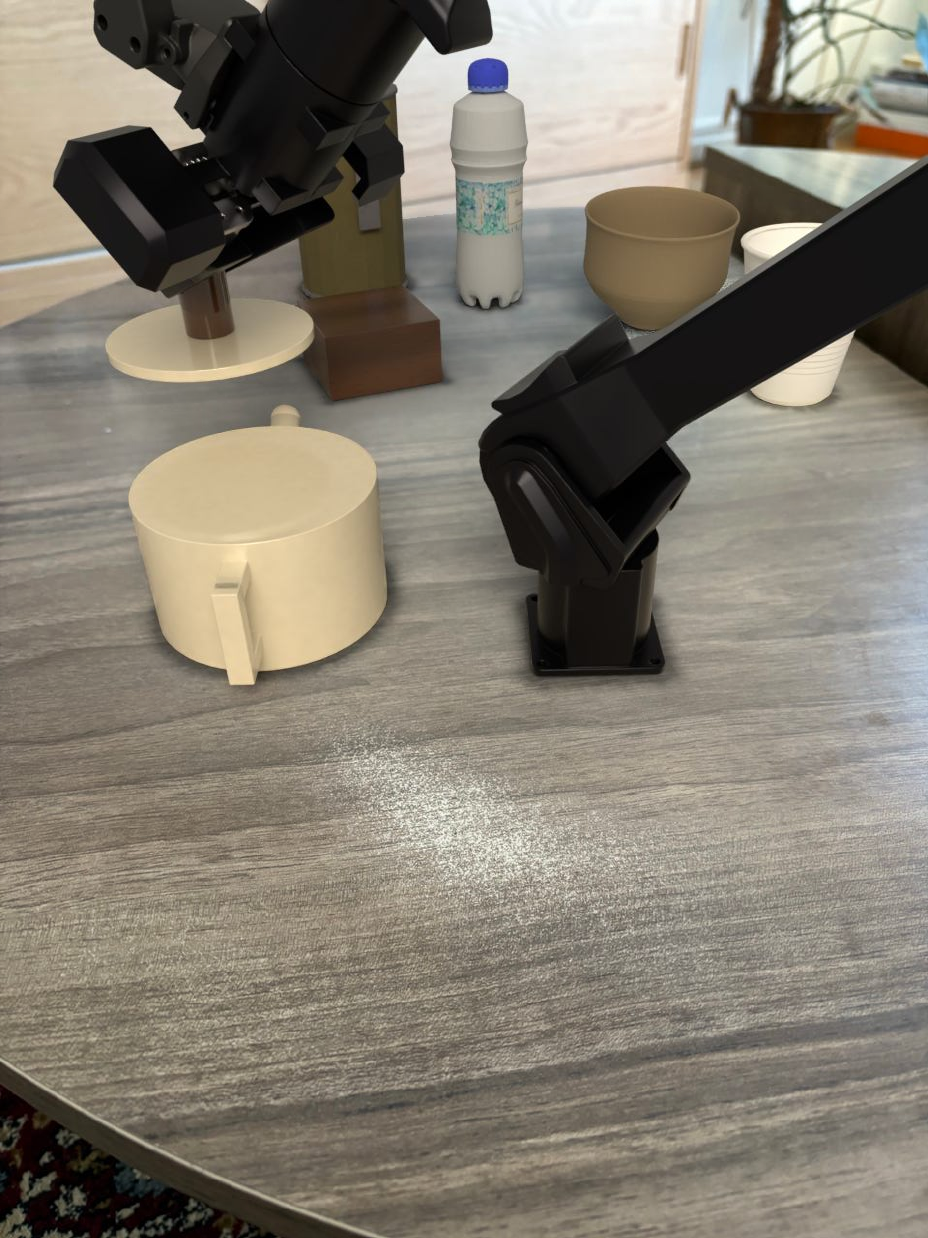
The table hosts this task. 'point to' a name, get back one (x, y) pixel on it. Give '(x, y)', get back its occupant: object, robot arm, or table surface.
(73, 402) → the table surface
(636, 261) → the bowl
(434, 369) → the stand
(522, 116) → the bottle
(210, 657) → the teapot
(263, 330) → the lid
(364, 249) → the canister
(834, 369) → the cup
